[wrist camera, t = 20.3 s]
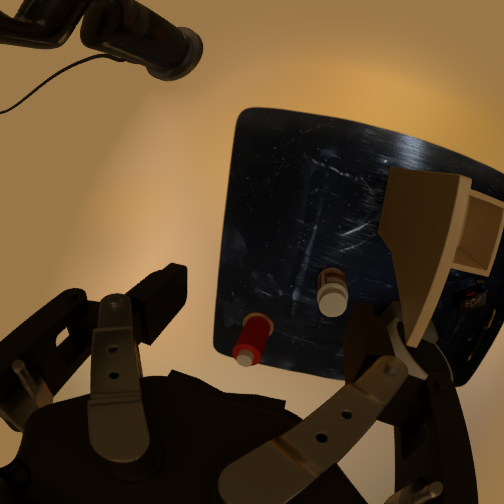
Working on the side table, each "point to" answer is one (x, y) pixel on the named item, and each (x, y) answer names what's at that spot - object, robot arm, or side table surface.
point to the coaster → (260, 316)
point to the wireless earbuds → (470, 297)
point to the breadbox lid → (427, 244)
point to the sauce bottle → (252, 341)
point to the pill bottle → (332, 292)
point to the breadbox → (473, 231)
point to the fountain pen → (483, 330)
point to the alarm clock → (418, 358)
